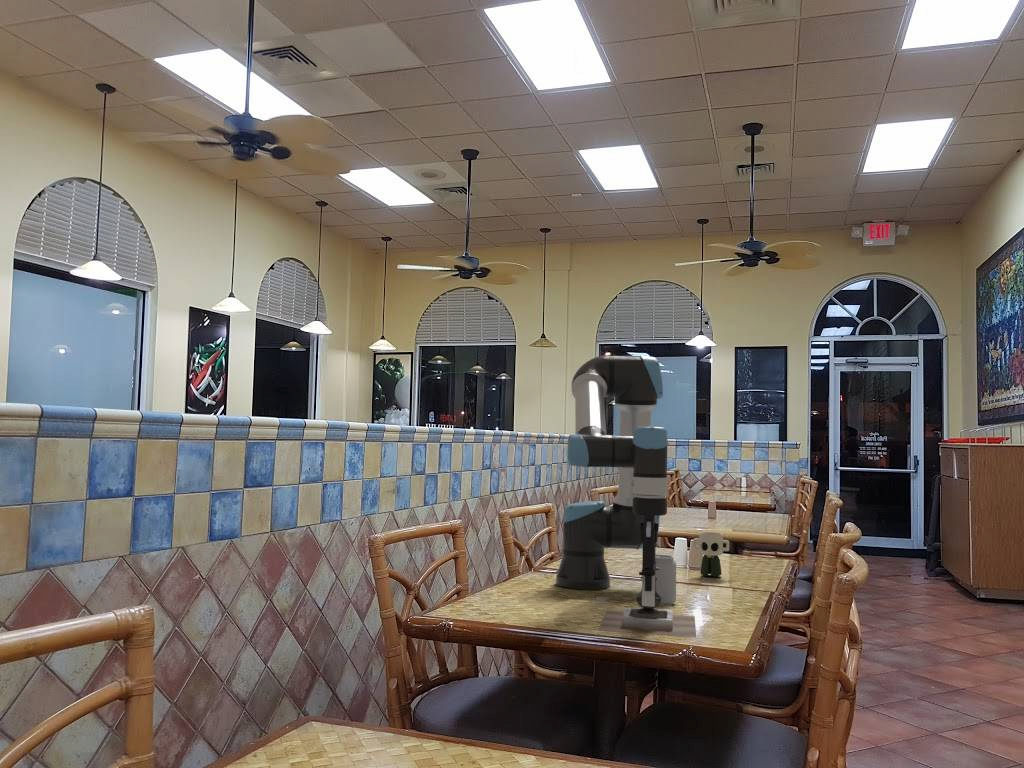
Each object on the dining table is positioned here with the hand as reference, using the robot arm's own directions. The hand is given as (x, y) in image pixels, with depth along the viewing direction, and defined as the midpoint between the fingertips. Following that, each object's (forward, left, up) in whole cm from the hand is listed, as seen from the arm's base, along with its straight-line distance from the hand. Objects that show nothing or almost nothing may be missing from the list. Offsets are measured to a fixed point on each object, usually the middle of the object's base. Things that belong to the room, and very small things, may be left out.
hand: (648, 602), depth 175 cm
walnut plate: (0, 0, -6) cm, 6 cm away
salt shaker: (0, 0, -2) cm, 2 cm away
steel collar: (0, 0, -4) cm, 4 cm away
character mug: (-74, +16, -6) cm, 76 cm away
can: (-28, +2, -6) cm, 29 cm away
